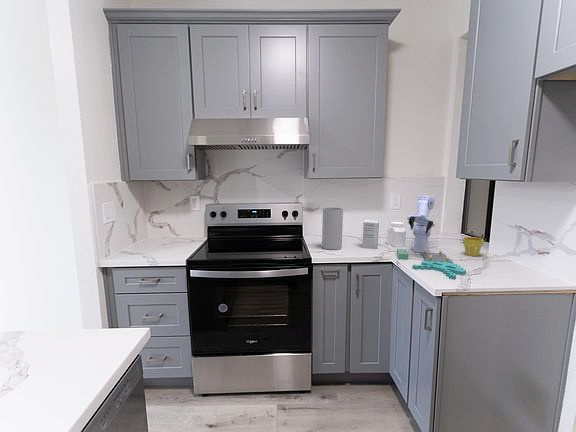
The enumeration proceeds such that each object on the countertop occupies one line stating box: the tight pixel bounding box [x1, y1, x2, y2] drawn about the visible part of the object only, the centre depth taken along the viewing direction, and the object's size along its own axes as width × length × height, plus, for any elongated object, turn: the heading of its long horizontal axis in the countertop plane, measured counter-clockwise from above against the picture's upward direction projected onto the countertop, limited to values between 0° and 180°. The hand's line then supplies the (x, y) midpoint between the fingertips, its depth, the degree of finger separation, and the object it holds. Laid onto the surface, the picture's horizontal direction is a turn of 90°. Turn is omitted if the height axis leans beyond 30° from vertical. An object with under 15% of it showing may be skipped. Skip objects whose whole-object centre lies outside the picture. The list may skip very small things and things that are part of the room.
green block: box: [396, 248, 409, 261], centre depth 175 cm, size 11×5×4 cm, turn 166°
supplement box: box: [361, 219, 380, 250], centre depth 197 cm, size 10×9×17 cm
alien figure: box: [411, 260, 467, 280], centre depth 152 cm, size 20×2×20 cm
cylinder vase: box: [321, 207, 344, 251], centre depth 193 cm, size 12×12×25 cm
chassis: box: [419, 248, 454, 263], centre depth 172 cm, size 18×13×4 cm
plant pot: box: [462, 236, 484, 257], centre depth 180 cm, size 10×10×10 cm
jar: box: [386, 221, 407, 248], centre depth 202 cm, size 12×10×15 cm
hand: (419, 230), depth 167 cm, fingers open, 7 cm apart
